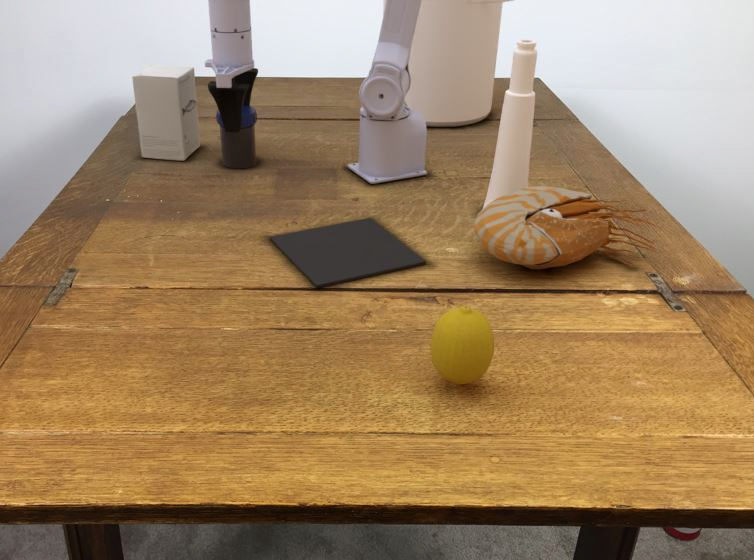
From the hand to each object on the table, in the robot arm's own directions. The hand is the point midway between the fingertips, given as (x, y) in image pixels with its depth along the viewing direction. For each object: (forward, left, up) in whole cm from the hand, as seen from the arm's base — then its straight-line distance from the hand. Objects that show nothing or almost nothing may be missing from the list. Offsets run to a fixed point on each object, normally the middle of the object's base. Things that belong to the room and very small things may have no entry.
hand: (236, 125), depth 117 cm
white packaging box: (+8, -9, -6) cm, 13 cm away
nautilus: (-23, +48, -6) cm, 54 cm away
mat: (-1, +35, -6) cm, 36 cm away
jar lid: (0, 0, +2) cm, 2 cm away
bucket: (-42, -11, -6) cm, 44 cm away
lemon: (+2, +64, -6) cm, 64 cm away
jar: (0, 0, -6) cm, 6 cm away
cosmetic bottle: (-25, +34, -6) cm, 43 cm away
